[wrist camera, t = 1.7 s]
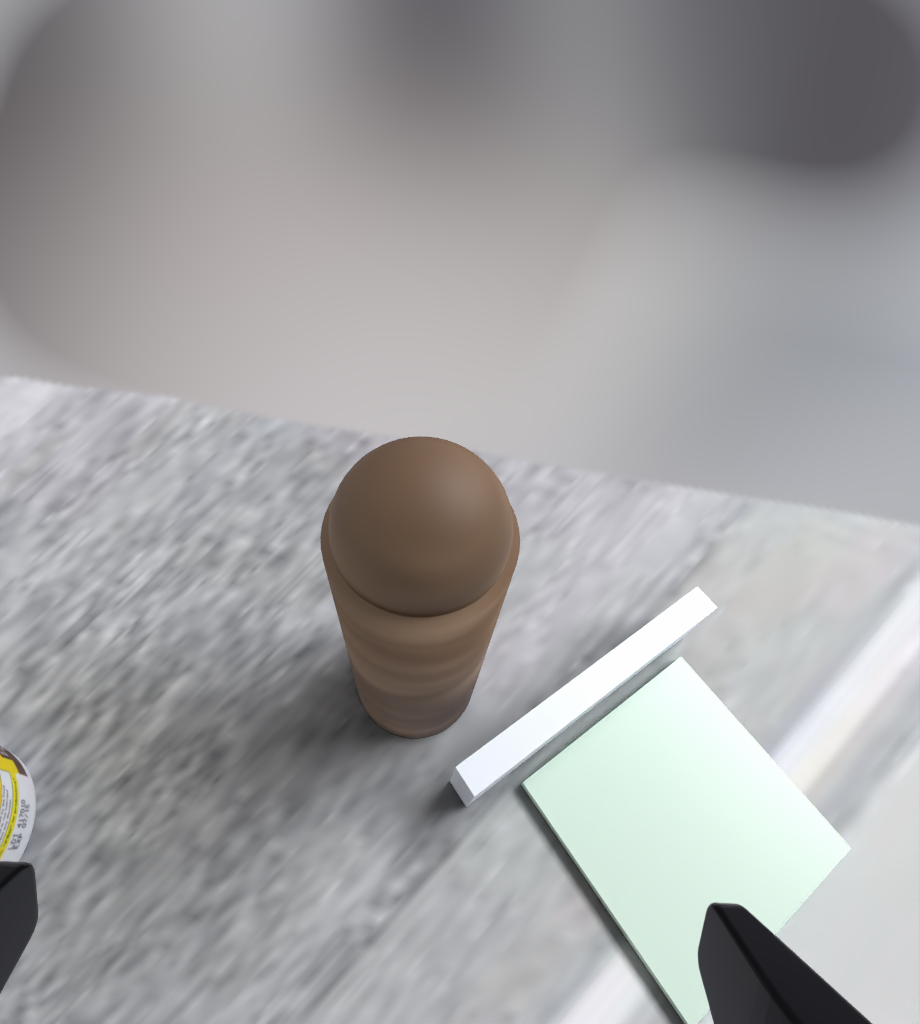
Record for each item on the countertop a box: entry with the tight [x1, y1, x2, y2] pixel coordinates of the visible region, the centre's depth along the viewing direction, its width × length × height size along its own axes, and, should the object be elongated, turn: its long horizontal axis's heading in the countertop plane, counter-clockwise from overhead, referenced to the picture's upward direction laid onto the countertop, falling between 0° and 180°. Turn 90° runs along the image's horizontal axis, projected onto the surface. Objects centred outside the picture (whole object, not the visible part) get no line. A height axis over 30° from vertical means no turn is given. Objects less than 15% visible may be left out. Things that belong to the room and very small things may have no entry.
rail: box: [450, 587, 717, 807], centre depth 21 cm, size 11×1×3 cm, turn 125°
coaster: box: [521, 657, 851, 1024], centre depth 20 cm, size 8×8×1 cm
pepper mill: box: [321, 437, 520, 738], centre depth 17 cm, size 4×4×13 cm
